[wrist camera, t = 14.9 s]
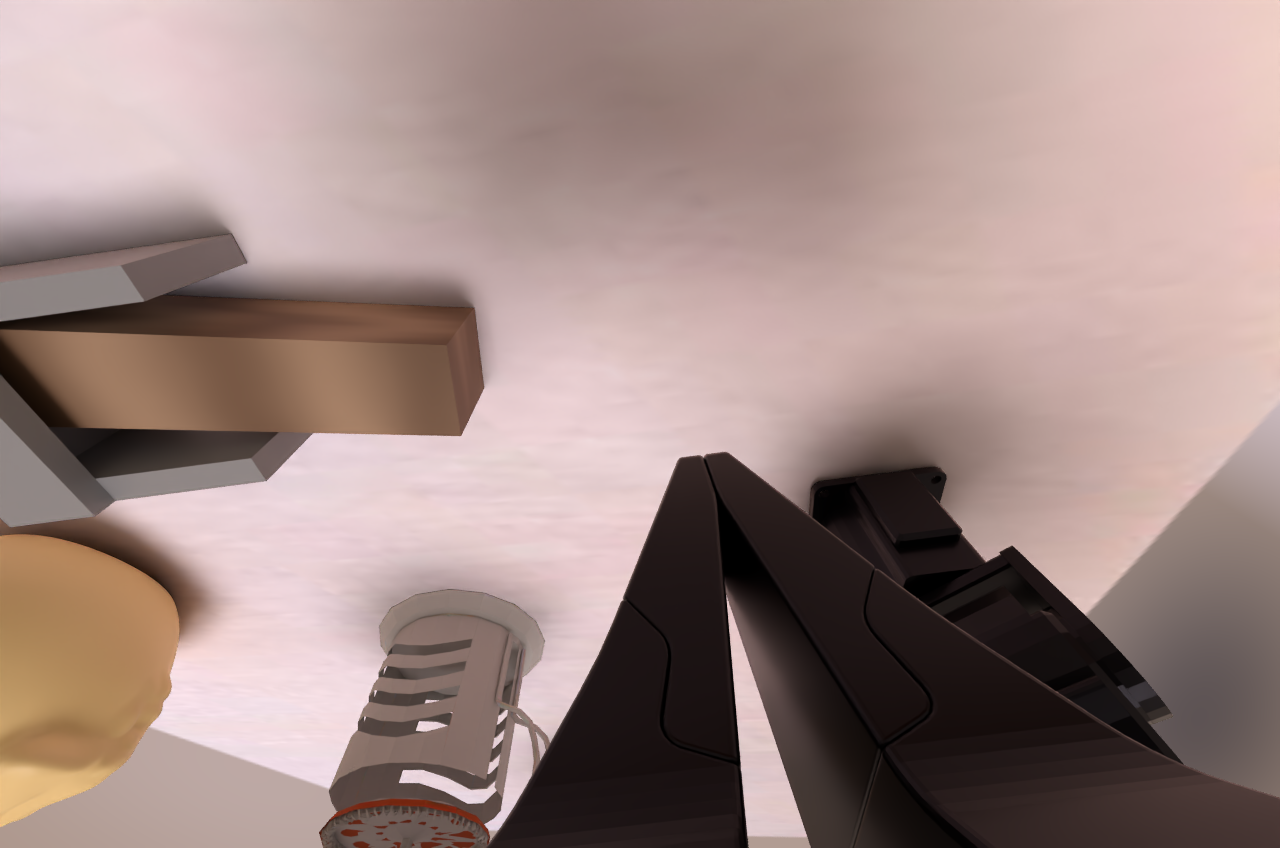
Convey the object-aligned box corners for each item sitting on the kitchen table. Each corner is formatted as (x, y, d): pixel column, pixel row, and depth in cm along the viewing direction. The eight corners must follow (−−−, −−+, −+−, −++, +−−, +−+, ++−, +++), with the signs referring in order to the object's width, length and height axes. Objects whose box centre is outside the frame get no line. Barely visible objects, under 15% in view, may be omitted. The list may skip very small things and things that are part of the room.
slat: (136, 374, 20) (38, 426, 16) (90, 289, 18) (-32, 328, 15) (485, 385, 21) (461, 435, 17) (475, 305, 19) (446, 345, 16)
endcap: (329, 415, 21) (251, 495, 16) (127, 443, 21) (-4, 529, 17) (231, 233, 17) (93, 273, 12) (-17, 268, 17) (-240, 319, 13)
